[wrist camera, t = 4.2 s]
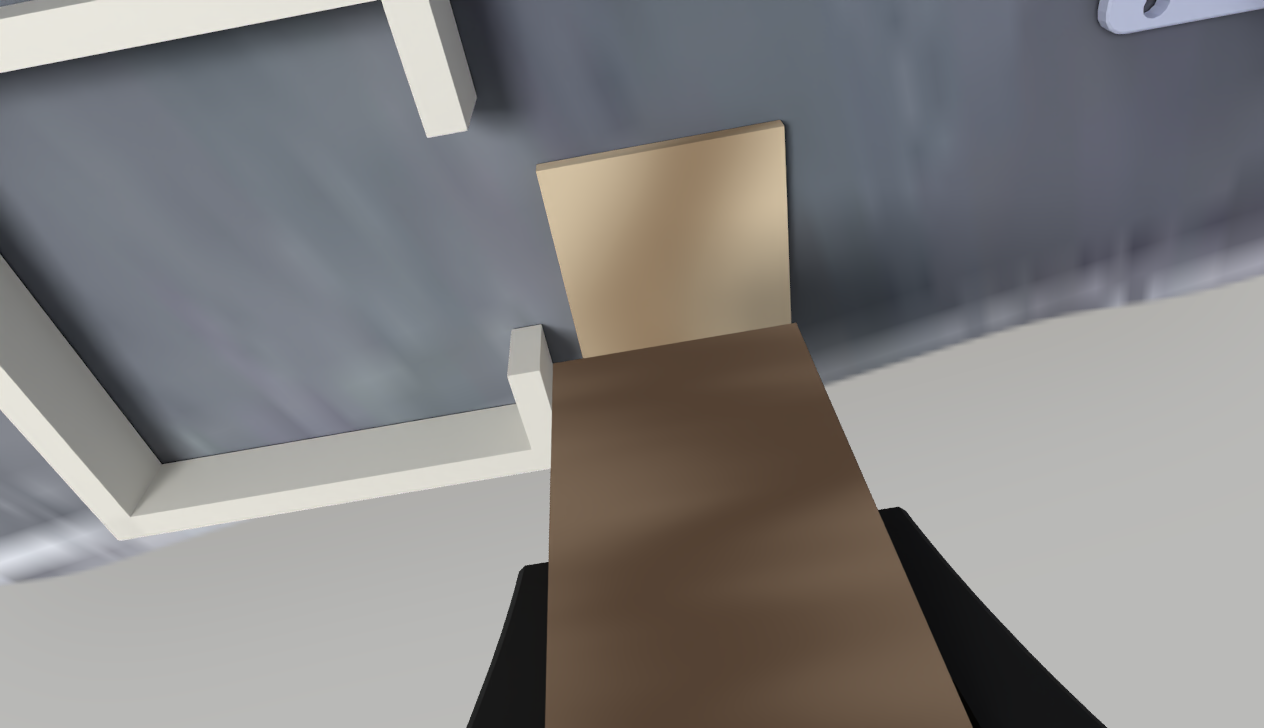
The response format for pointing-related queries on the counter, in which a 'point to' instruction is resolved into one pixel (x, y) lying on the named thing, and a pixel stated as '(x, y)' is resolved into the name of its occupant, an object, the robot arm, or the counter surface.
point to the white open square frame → (273, 475)
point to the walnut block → (724, 551)
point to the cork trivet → (673, 238)
